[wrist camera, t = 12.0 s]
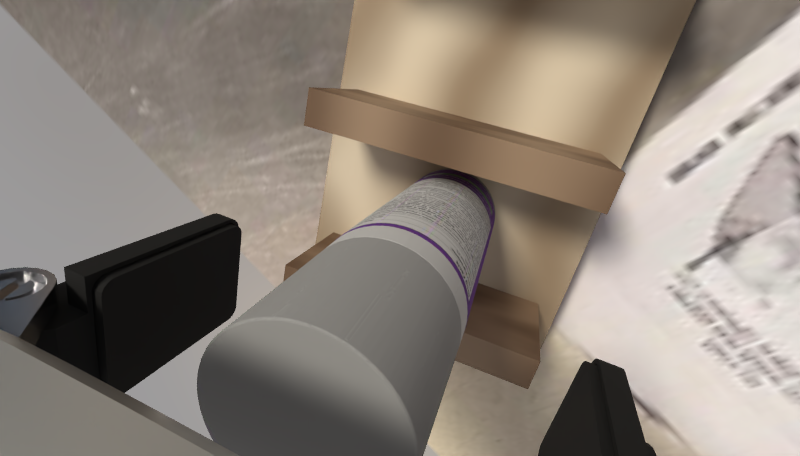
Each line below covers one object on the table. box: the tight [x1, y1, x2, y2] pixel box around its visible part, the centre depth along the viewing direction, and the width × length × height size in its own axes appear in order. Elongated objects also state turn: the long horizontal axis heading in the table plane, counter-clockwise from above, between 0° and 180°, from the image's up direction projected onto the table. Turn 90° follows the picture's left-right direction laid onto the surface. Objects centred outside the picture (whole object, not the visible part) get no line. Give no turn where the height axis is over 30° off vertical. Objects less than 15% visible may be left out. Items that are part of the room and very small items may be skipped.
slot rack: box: [284, 0, 696, 389], centre depth 18 cm, size 14×20×6 cm
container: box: [197, 169, 495, 456], centre depth 14 cm, size 5×5×15 cm
